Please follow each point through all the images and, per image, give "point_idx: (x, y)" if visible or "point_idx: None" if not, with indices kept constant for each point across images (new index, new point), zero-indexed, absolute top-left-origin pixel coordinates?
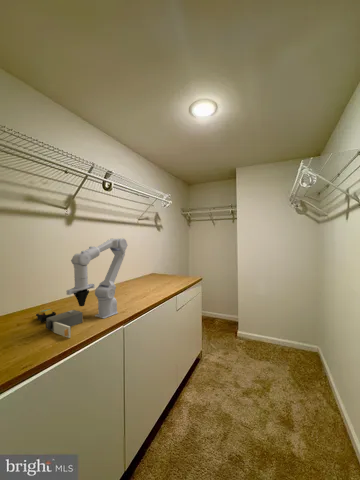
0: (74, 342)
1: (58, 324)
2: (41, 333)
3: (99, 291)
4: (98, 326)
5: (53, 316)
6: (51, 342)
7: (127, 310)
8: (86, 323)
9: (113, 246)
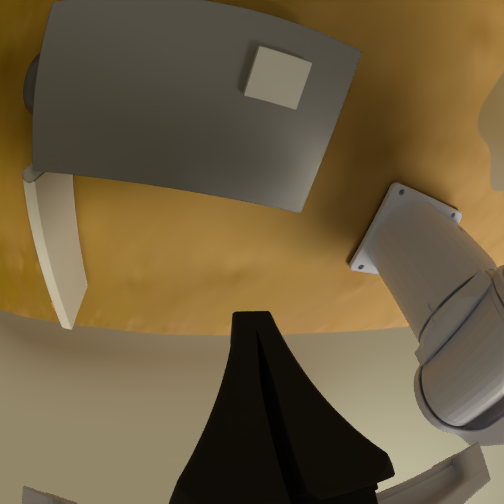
0: (84, 317)
1: (36, 239)
2: None
3: (487, 368)
4: (245, 304)
5: (101, 14)
6: (25, 239)
7: None
8: (266, 215)
9: None
